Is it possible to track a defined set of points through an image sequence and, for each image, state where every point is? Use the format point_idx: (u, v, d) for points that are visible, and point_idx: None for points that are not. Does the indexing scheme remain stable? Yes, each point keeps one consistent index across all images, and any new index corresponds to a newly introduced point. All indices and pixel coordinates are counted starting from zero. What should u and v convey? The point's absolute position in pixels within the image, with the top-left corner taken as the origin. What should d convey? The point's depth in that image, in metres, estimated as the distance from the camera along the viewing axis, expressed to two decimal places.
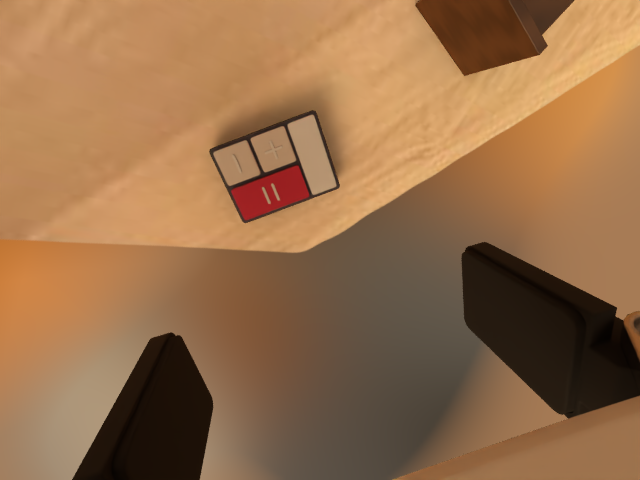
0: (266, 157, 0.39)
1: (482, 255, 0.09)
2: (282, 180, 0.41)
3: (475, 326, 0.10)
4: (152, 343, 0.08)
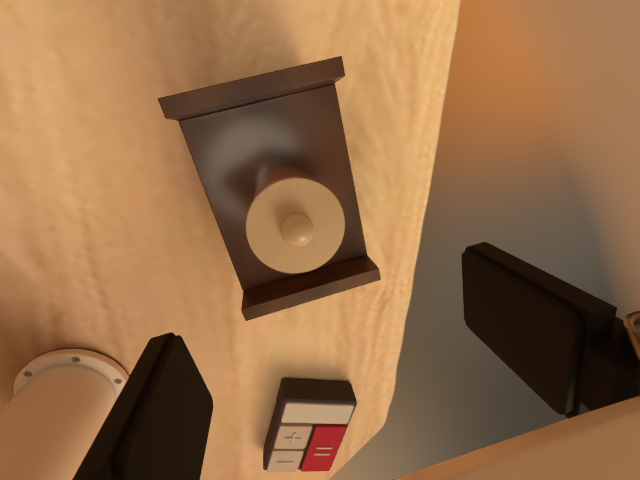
0: (294, 444, 0.43)
1: (482, 255, 0.09)
2: (320, 440, 0.44)
3: (475, 326, 0.10)
4: (152, 343, 0.08)
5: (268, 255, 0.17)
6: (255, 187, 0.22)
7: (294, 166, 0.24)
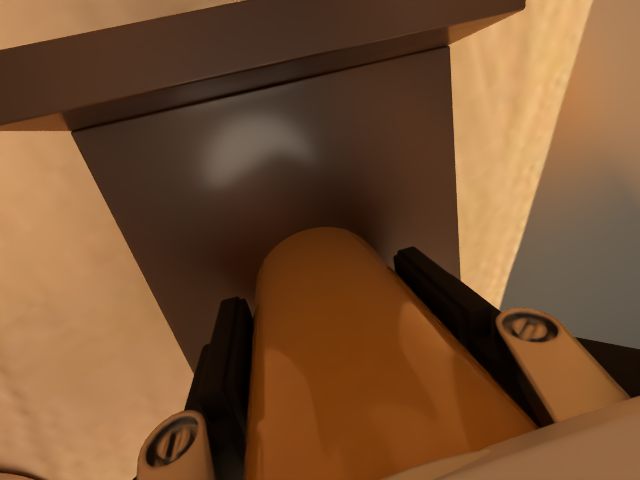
0: None
1: (406, 258, 0.09)
2: None
3: None
4: (225, 303, 0.09)
5: None
6: (260, 297, 0.09)
7: (345, 230, 0.11)
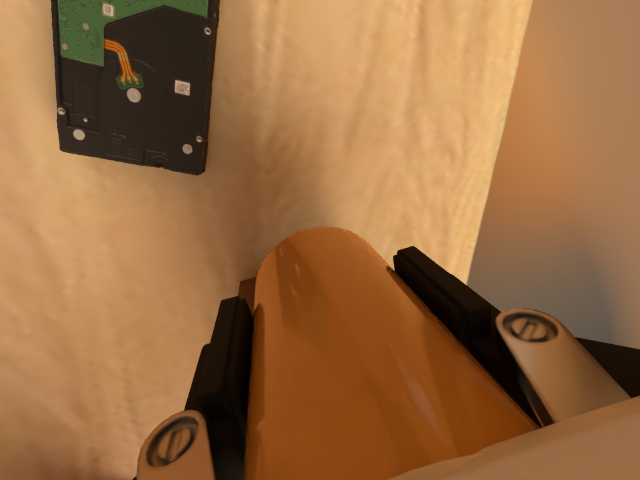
0: None
1: (406, 258, 0.09)
2: None
3: None
4: (224, 303, 0.09)
5: None
6: (260, 298, 0.09)
7: (345, 230, 0.11)
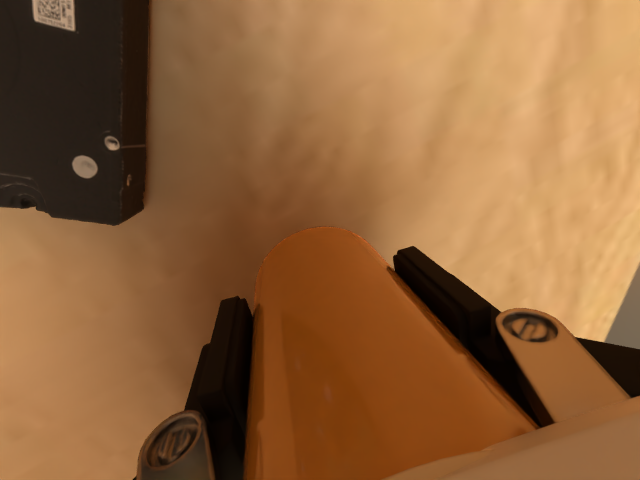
0: None
1: (406, 258, 0.09)
2: None
3: None
4: (225, 303, 0.09)
5: None
6: (260, 297, 0.09)
7: (345, 230, 0.11)
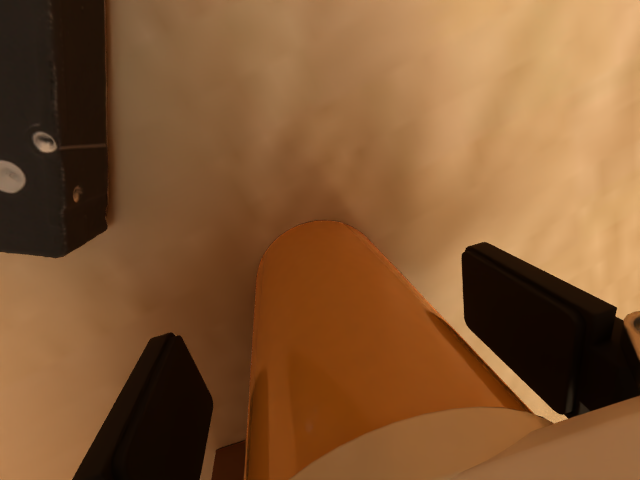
0: None
1: (482, 255, 0.09)
2: None
3: (474, 326, 0.10)
4: (152, 343, 0.08)
5: None
6: (261, 287, 0.09)
7: (343, 224, 0.11)
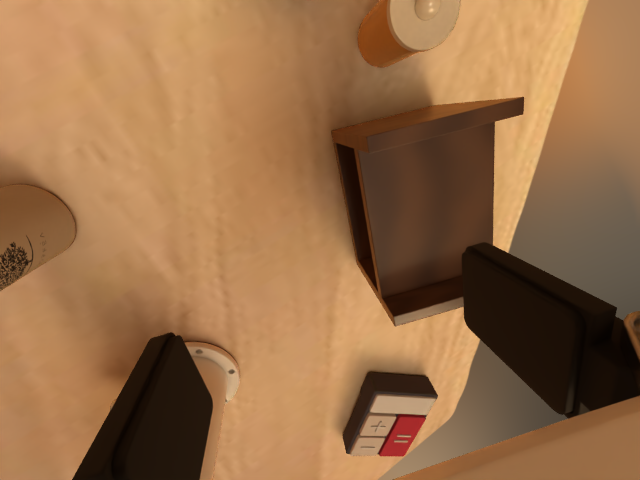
0: (378, 432, 0.47)
1: (482, 255, 0.09)
2: (401, 429, 0.47)
3: (475, 326, 0.10)
4: (152, 343, 0.08)
5: (402, 29, 0.22)
6: (368, 14, 0.27)
7: None
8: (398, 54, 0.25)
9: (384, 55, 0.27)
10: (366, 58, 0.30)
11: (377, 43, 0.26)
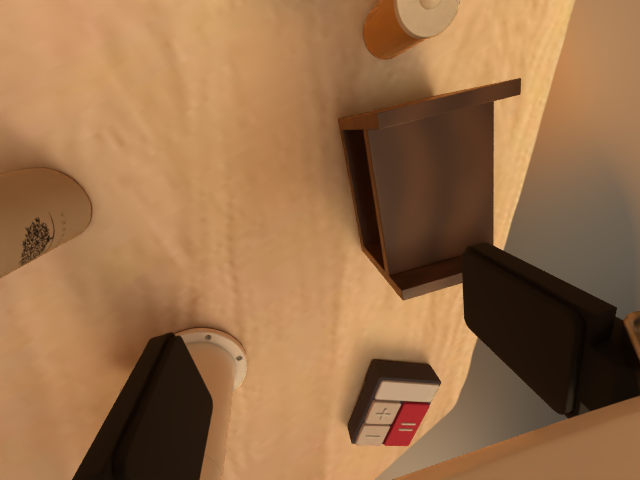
0: (383, 419, 0.47)
1: (482, 255, 0.09)
2: (405, 416, 0.48)
3: (474, 326, 0.10)
4: (152, 343, 0.08)
5: (408, 17, 0.24)
6: (374, 8, 0.29)
7: None
8: (403, 43, 0.27)
9: (390, 45, 0.29)
10: (371, 50, 0.32)
11: (383, 33, 0.28)
